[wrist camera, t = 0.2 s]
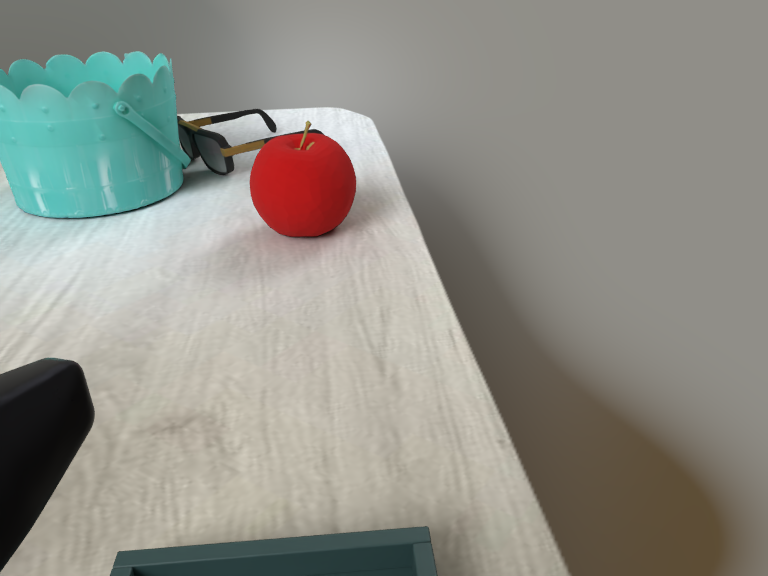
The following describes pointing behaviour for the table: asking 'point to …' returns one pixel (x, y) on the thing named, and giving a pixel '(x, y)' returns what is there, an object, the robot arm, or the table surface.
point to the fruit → (302, 184)
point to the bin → (292, 556)
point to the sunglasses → (220, 140)
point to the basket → (90, 134)
